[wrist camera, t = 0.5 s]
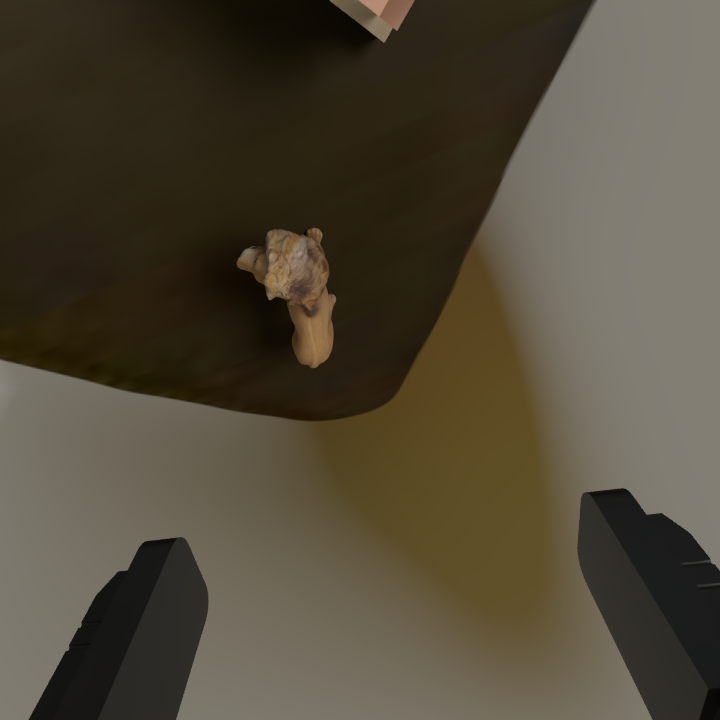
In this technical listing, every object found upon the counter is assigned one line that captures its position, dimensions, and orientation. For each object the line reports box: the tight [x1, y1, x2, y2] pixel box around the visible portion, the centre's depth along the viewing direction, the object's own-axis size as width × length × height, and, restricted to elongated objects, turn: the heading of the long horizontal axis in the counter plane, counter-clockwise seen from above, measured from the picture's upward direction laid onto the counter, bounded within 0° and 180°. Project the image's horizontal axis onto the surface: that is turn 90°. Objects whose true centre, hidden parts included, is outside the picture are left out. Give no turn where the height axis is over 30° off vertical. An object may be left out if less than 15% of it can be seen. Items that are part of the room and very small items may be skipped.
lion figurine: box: [237, 228, 336, 368], centre depth 36 cm, size 15×5×9 cm, turn 14°
